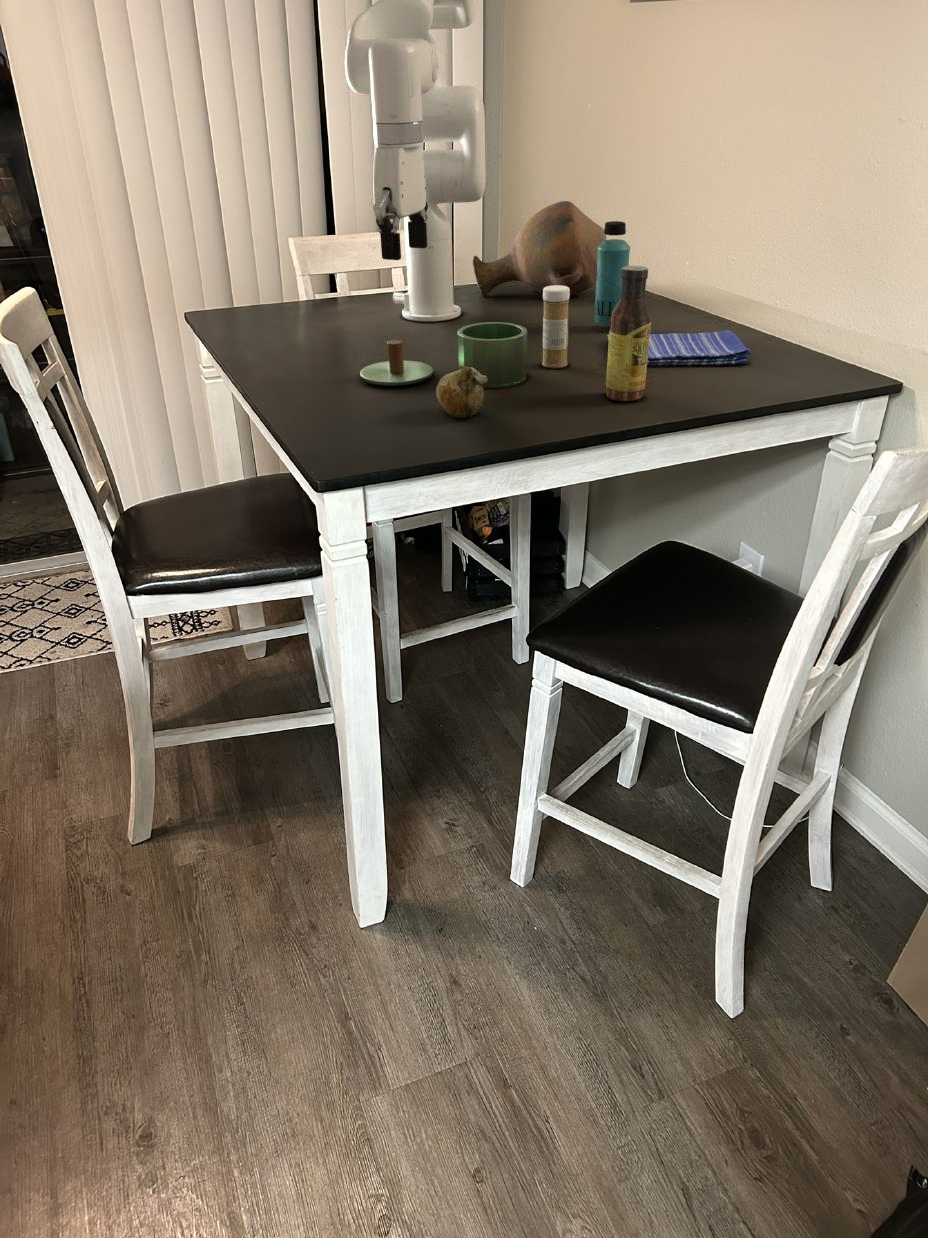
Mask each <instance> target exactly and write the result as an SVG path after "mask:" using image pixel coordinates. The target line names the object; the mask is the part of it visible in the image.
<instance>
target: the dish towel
mask: <svg viewBox="0 0 928 1238" xmlns="http://www.w3.org/2000/svg"><path fill="white" fill-rule="evenodd" d="M607 339H608V341H609V333H608V334H607ZM752 354H753V352H752V351H751V349H750V348H748V347H746V345H745V344H744V343H743V342H742V339H740V338H739V337H738V336H737V335H736V334H735V332H733V331H732V330H731V329H730V330H729V329H725V330H721V331H713V332H698V333H688V332H687V333H683V332H682V333H677V332H676V333H675V332H672V333H660V334H658V333H657V334H656V333H650V337H649V348H648V359H647V367H648V366H649V367H650V366H652V367H653V366H654V367H655V366H657V367H659V366H660V367H662V366H666V367H668V366H707V365H708V366H725V365H740V366H741V365H748V359H747V358H749V357H750V355H752Z"/></svg>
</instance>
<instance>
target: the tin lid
mask: <svg viewBox="0 0 928 1238" xmlns="http://www.w3.org/2000/svg"><path fill="white" fill-rule="evenodd" d="M386 347H387V361H381V362H380V361H379V362H376V363H372V364H369V365H367V366H365V367H363V368H362V369H361V370H360V373H359V375H360V378H361V380H362V381H364V382H365V383H368V384H371V385H372V384H373V385H378V386H388V387H389V386H407V385H412V384H417V383H420V382H421V383H422V382H423V381H426V380H428V379H430V378H431V377H432V376H433V374H434V369H433V367H432V366H431V365H430V364H427V363H425V362H422V361H416V360H404V346H403V341H402V340H401V339H391V340H387V342H386Z"/></svg>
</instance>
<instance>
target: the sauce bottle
mask: <svg viewBox="0 0 928 1238" xmlns="http://www.w3.org/2000/svg"><path fill="white" fill-rule="evenodd" d="M648 278H649V268H648V267H647V266H643V265H629V266H626V267H623V268H621V279H622V283H621V293H620V297H621V298H620V300H619V302H618V304H617V305H616V306H615V308H614V310H613V312H612V316H611V325H610V329H609V333H608V334H609V340H608V349H607V361H606V376H605V387H606V390H605V392H606V393H605V394H606V397H607V398H608V399H609V400H611V401H617V402H622V403H624V402H635V401H639V400H641V399H642V398H643V396H644V390H645V388H646V381H647V380H646V379H647V369H648V366H647V359H648V348H649V337H650V334H651V326H652V322H651V317H650V313H649V308H648V304H647V300H646V296H647V295H646V289H647V288H646V287H647V279H648Z"/></svg>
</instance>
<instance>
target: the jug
mask: <svg viewBox="0 0 928 1238" xmlns="http://www.w3.org/2000/svg"><path fill="white" fill-rule="evenodd" d="M604 229H605V228H603V227H602V226H601V225H599V224H597V223H596V222H595V221H594V220H592V219H591V218H590V217H589V216H587V215H586V214H585V213H584V212H583V211H582V210H581V209H580V208H579V207H578V206H577V205H575V204H574V203H573V202H572V201H569V200H562V201H557V202H555V203H552V204H550V205H548V206H545V207H544V208H542V209H540V210H539V211H538V212H536V213H534V214H533V215H532V216H531V217H529V218H528V219H527V221H525V223H524V224H523V225H521V228H520V229H519V231H518V233H517V234H516V237H515V240H514V244H513V247H512V249H511V251H510V252H508V253H507V254H506V255H504V256H503V257H501V258H498V259H497V260H494V261H490V262H484V261H483V260H481V259H480V258H479V257H478V256H477V255H474V256H473V257H472V267H473V268H472V269H473V274H474V278H475V281H476V285H477V287H478V289H479V292H480V293H481V294H482V297H484V298H486V297H487V295H488V294H489V293H491V292H492V290H494V289H495V288H496V287H498V286H499V285H502V284H505V283H508V282H513V281H515V282H516V281H517V282H518V281H519V282H522V283H523V284H524V285H525V286H526V287H527V288H528V289H530V290H531V291H533V292H534V293H536V294H539V295H542V296H543V289H544V288H545V287H547V286H554V285H560V286H566V287H569V289H570V296H574V295H578V294H581V293H583V292H586V291H587V290H589V289H591V288H592V287H593V286H594V285H596V277H597V276H596V274H597V272H596V267H597V265H596V264H597V260H598V246H599V245H600V244H601V243H602V242H603V241H604V240H607V235H605V234H604Z"/></svg>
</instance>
